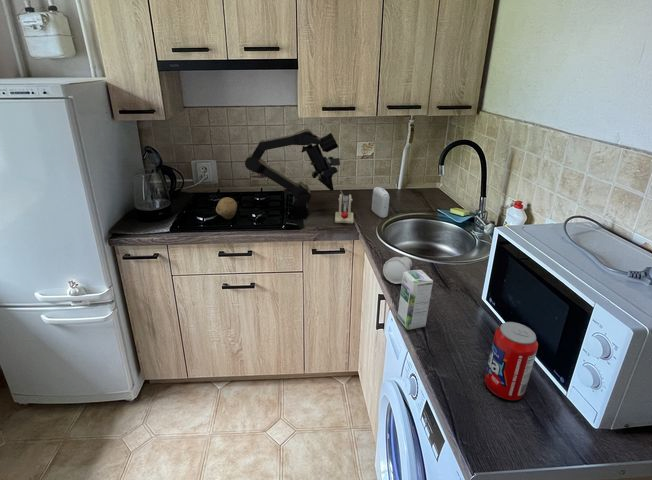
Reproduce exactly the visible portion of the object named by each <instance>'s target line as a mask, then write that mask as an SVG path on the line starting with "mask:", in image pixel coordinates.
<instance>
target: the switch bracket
mask: <svg viewBox="0 0 652 480" xmlns="http://www.w3.org/2000/svg"><path fill="white" fill-rule="evenodd" d="M337 198H338V200H337V202H338V211H335V214H334V223H342V224H354V212H351V211H352V210H351V209H352V202H353V198H352V194H348V204H347V211H346V212H347V213H348V217H347V218H346V219H343V218H342V217H341V213H342V212H343V211H342V205H343V194H342V193H340V194H339V197H337Z"/></svg>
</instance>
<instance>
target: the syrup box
mask: <svg viewBox="0 0 652 480" xmlns="http://www.w3.org/2000/svg"><path fill="white" fill-rule="evenodd" d="M433 285H434V280H433V279H432V278H430V276H429V275H428V274H427V273H426V272H425V271H424V270H423V269H413V270H411V271H406V272H403V279H402V283H401V288H400V293H399V294H400V295H399V302H398V309H397V314H396V315H397V316H396V317H397V319H398V320H399V322H400V323H401V324H402V325H403V327H404V328H405V329H406V331H410V330H415V329H421V328H426V326H427V320H428V314H429V308H430V301H431V297H432V290H433Z"/></svg>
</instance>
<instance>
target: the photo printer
mask: <svg viewBox="0 0 652 480" xmlns="http://www.w3.org/2000/svg"><path fill="white" fill-rule="evenodd" d="M389 206H390V194H389V193H388V191H387V190H386V189H385V188H383V187H381V186H376V187H374V188H373V189H372V199H371V211H372V212H373V213H374V214H375V215H376V216H377V217H379V218H383V219H384V218H387V217H388V215H389Z"/></svg>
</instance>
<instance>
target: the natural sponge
mask: <svg viewBox="0 0 652 480" xmlns="http://www.w3.org/2000/svg"><path fill="white" fill-rule="evenodd" d="M237 210H238V204H237V201H235V199H233V197H232V198H231V197H228V196H227V197H223V198H221V199H219V201H218V203H217V205H216V207H215V212H216V213H217V215H219V216H221V217H222V218H224V219H226V220H231V219H233V218H234V217H235V215H236V213H237Z"/></svg>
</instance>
